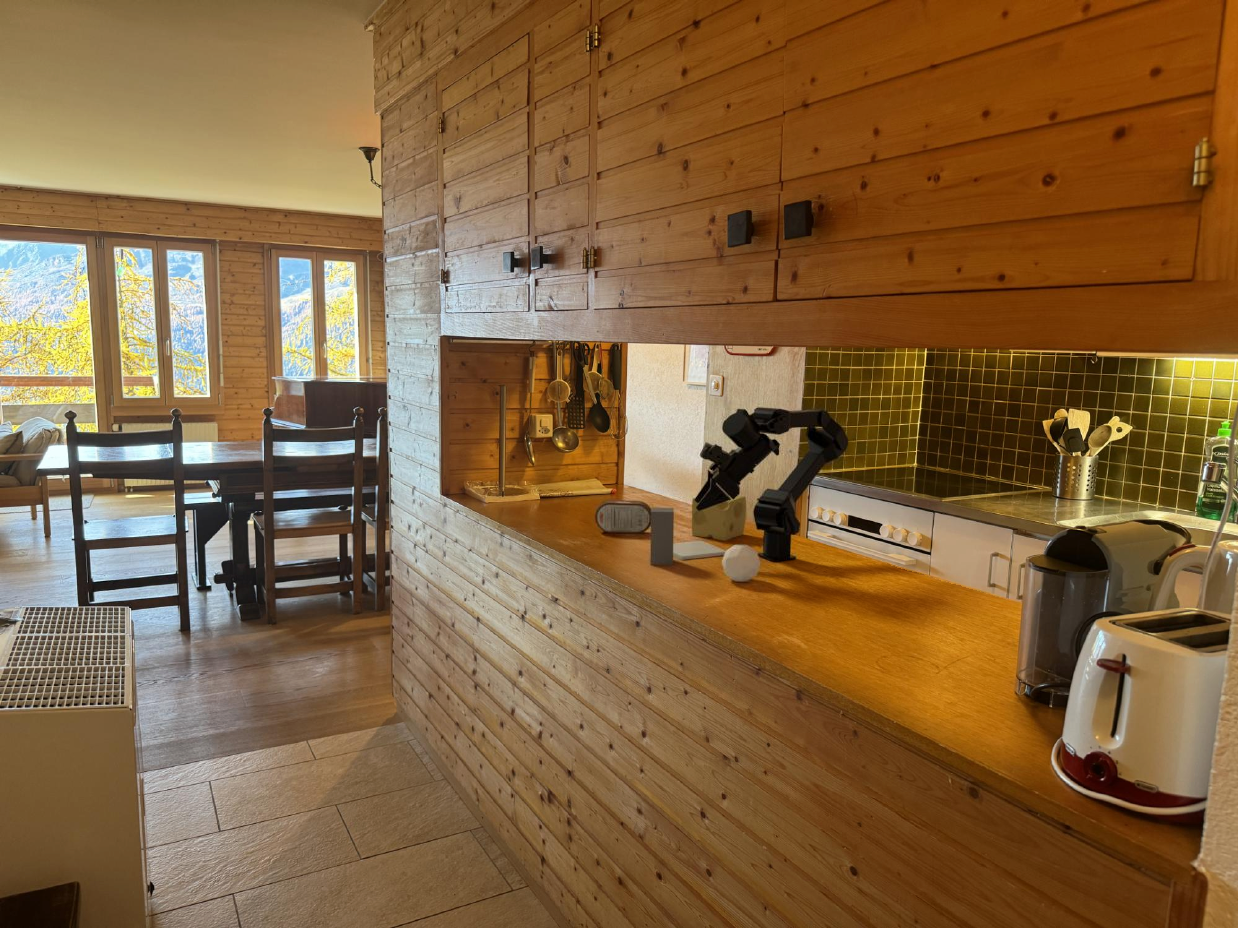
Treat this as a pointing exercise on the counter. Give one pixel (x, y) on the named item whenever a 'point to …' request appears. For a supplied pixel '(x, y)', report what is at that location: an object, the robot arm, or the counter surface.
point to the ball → (741, 563)
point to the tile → (695, 550)
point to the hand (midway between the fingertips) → (696, 505)
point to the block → (662, 536)
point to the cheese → (720, 519)
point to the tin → (623, 516)
